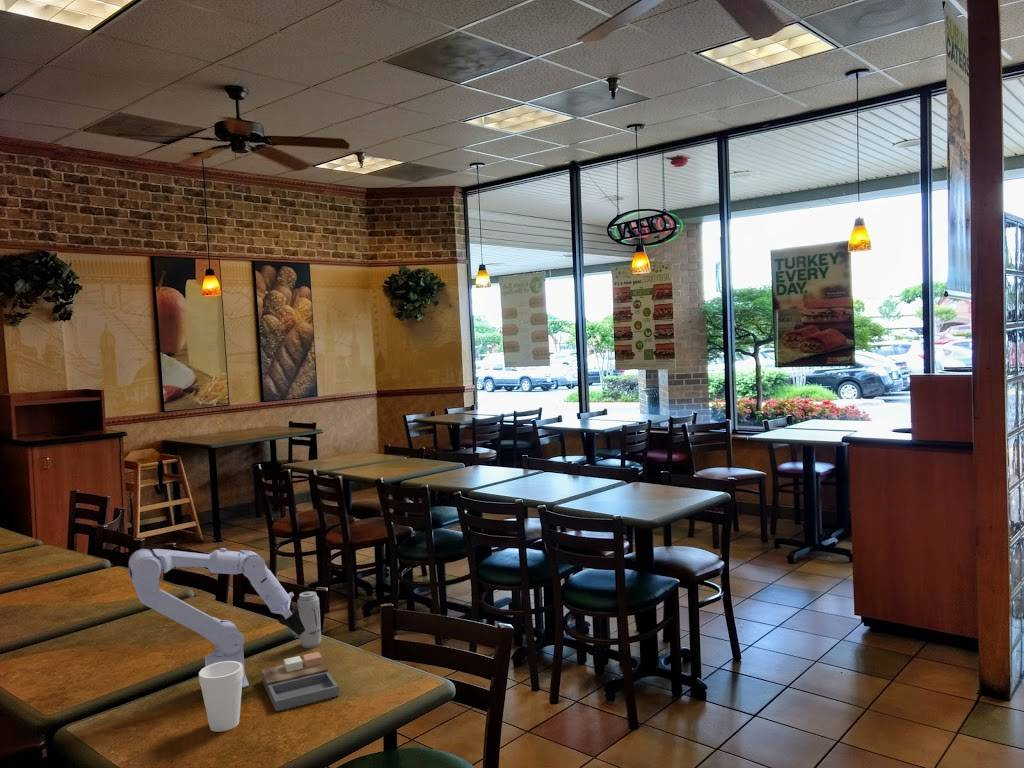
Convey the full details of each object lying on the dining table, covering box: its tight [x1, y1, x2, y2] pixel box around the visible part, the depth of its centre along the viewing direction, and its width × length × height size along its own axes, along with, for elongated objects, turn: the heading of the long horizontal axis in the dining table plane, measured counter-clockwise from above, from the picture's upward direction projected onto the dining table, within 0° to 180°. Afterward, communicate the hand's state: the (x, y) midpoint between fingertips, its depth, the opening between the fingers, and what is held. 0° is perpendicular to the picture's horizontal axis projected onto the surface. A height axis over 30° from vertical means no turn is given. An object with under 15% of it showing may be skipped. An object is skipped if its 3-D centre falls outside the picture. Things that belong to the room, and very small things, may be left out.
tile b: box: [302, 651, 323, 668], centre depth 202 cm, size 4×4×2 cm
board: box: [261, 659, 329, 696], centre depth 199 cm, size 15×10×3 cm, turn 117°
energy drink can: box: [297, 590, 322, 649], centre depth 223 cm, size 6×6×15 cm
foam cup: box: [198, 661, 244, 733], centre depth 176 cm, size 10×9×13 cm
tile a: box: [283, 655, 303, 672], centre depth 200 cm, size 4×4×2 cm
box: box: [267, 671, 340, 712], centre depth 190 cm, size 15×10×2 cm
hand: (298, 627), depth 207 cm, fingers open, 7 cm apart
